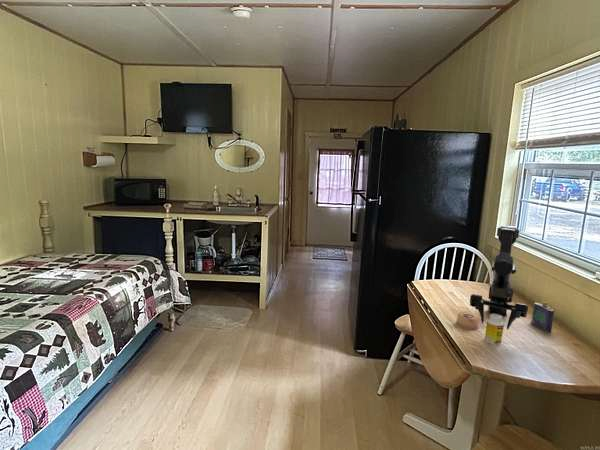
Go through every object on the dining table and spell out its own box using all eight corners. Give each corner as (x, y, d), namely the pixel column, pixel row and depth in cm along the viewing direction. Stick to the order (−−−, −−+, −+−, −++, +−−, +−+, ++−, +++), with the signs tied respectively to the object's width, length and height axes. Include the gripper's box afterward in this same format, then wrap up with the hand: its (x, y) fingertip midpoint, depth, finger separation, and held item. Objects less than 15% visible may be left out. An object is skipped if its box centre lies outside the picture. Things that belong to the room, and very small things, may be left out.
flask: (529, 322, 151) (533, 298, 149) (535, 322, 151) (539, 298, 149) (547, 332, 142) (551, 306, 140) (553, 332, 142) (558, 306, 140)
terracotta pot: (476, 322, 149) (477, 313, 148) (479, 331, 141) (481, 321, 140) (455, 319, 151) (456, 310, 150) (457, 327, 143) (458, 318, 143)
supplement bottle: (496, 346, 129) (499, 320, 127) (481, 340, 133) (484, 314, 132) (504, 343, 132) (508, 316, 130) (489, 336, 136) (492, 311, 135)
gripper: (473, 273, 137) (466, 310, 129) (531, 283, 127) (527, 323, 120) (473, 287, 145) (466, 323, 137) (528, 297, 135) (524, 336, 128)
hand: (494, 326), depth 130 cm, fingers open, 8 cm apart
